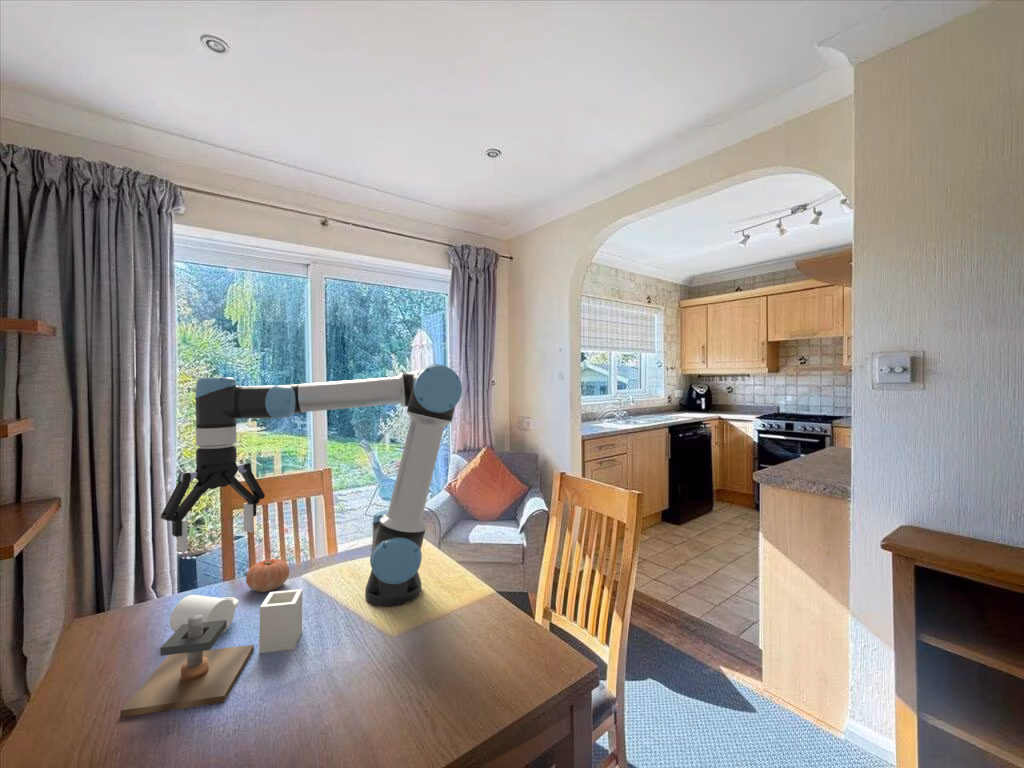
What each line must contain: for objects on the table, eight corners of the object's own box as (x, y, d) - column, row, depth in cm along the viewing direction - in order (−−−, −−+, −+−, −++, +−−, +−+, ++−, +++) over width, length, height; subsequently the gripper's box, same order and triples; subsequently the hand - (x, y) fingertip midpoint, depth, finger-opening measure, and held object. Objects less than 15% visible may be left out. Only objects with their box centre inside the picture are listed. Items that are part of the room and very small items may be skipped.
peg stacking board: (254, 650, 95) (254, 594, 95) (223, 702, 79) (224, 635, 79) (169, 660, 91) (170, 602, 91) (120, 717, 75) (121, 647, 75)
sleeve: (302, 631, 102) (302, 589, 102) (294, 649, 95) (295, 603, 95) (269, 635, 100) (269, 592, 100) (259, 653, 93) (259, 607, 94)
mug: (205, 645, 96) (206, 609, 96) (168, 639, 98) (169, 604, 98) (248, 617, 108) (249, 585, 108) (215, 612, 110) (215, 581, 110)
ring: (226, 627, 90) (226, 619, 90) (209, 650, 82) (209, 642, 82) (182, 631, 88) (182, 624, 88) (160, 655, 80) (160, 647, 80)
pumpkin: (237, 591, 121) (238, 562, 122) (276, 576, 131) (276, 550, 131) (258, 601, 116) (259, 571, 116) (297, 585, 125) (297, 558, 125)
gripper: (262, 438, 110) (263, 522, 110) (140, 452, 88) (141, 556, 88) (280, 440, 106) (280, 526, 106) (157, 455, 84) (158, 563, 84)
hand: (217, 540), depth 97 cm, fingers open, 13 cm apart
